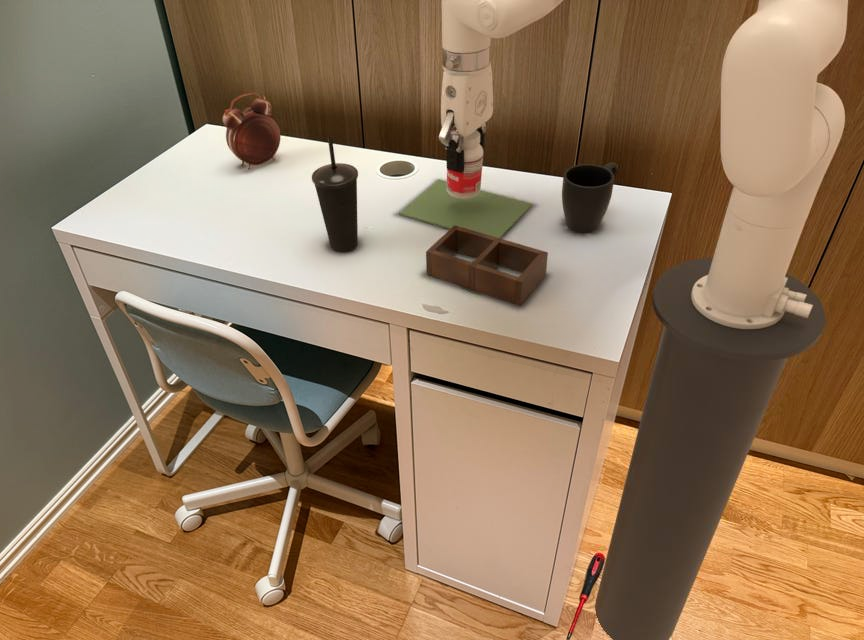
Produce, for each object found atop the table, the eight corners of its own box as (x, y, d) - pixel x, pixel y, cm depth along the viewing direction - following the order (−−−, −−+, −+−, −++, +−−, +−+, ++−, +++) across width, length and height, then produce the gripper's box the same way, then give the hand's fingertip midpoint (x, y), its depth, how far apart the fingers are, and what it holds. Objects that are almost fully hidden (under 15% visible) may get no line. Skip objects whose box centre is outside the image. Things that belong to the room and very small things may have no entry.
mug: (629, 215, 126) (638, 166, 119) (586, 243, 120) (594, 193, 114) (591, 199, 131) (597, 151, 124) (548, 225, 125) (553, 176, 119)
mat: (532, 205, 131) (532, 203, 130) (495, 243, 122) (495, 241, 122) (438, 181, 140) (438, 179, 139) (399, 214, 132) (399, 212, 131)
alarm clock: (275, 152, 155) (262, 83, 144) (286, 159, 151) (273, 89, 141) (230, 168, 150) (213, 98, 140) (240, 176, 147) (224, 105, 137)
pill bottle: (441, 185, 130) (443, 128, 123) (473, 180, 131) (477, 123, 124) (452, 202, 126) (455, 145, 118) (485, 197, 127) (489, 139, 119)
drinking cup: (349, 228, 129) (336, 122, 116) (374, 245, 125) (363, 137, 111) (314, 244, 126) (296, 137, 113) (338, 262, 122) (322, 153, 108)
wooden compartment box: (545, 275, 114) (548, 252, 111) (520, 305, 109) (521, 282, 106) (454, 247, 122) (454, 224, 119) (426, 274, 117) (425, 251, 114)
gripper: (458, 80, 106) (459, 189, 118) (512, 42, 116) (507, 146, 128) (416, 72, 109) (420, 178, 121) (472, 36, 119) (471, 138, 131)
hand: (465, 161), depth 124 cm, fingers closed on pill bottle, 6 cm apart
